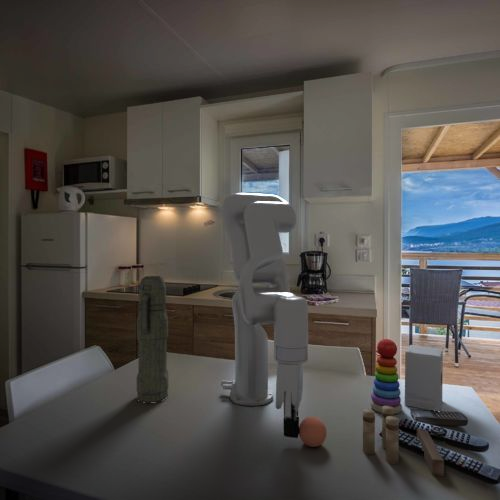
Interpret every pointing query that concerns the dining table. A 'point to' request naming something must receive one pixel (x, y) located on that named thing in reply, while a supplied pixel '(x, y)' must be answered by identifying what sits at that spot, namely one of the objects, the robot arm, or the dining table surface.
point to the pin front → (368, 431)
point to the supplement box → (423, 377)
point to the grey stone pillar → (152, 340)
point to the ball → (312, 431)
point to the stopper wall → (431, 453)
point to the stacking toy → (386, 378)
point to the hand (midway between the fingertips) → (291, 435)
